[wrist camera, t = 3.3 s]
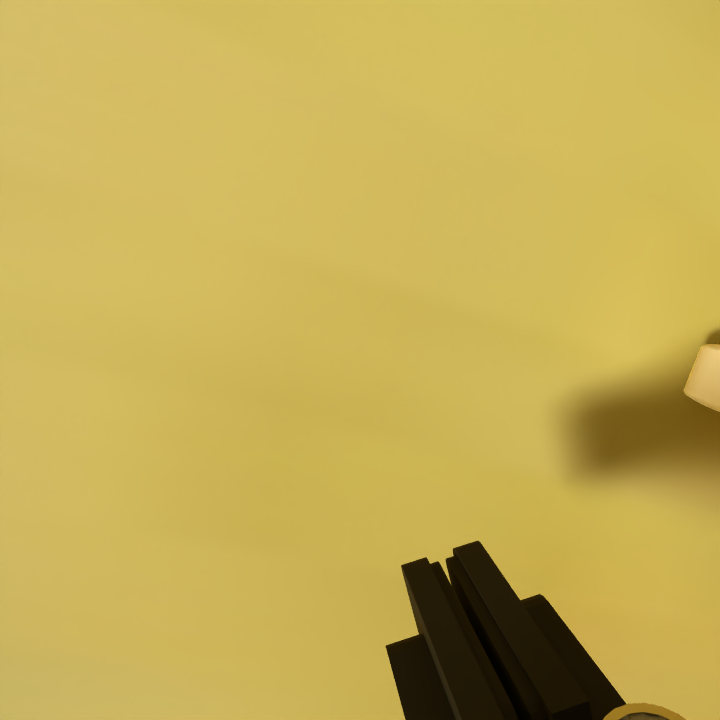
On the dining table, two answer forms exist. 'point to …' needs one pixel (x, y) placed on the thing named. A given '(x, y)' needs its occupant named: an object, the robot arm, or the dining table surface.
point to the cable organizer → (705, 377)
